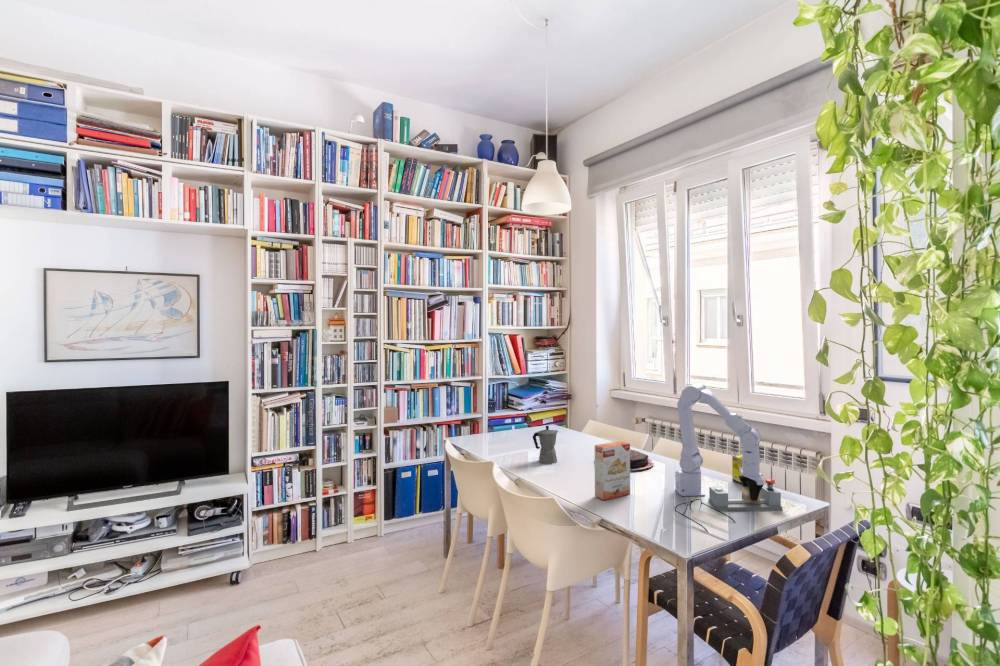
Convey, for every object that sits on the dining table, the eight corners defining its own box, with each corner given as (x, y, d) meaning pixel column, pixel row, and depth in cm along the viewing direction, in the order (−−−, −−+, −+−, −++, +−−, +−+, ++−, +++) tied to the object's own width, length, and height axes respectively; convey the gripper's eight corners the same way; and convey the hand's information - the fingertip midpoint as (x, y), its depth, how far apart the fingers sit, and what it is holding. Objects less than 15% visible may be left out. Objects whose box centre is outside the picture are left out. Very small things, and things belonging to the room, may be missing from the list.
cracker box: (604, 501, 188) (603, 448, 188) (594, 496, 194) (593, 444, 193) (631, 494, 195) (630, 443, 194) (621, 490, 200) (620, 439, 200)
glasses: (700, 510, 179) (701, 497, 178) (736, 529, 166) (738, 515, 165) (673, 518, 172) (674, 505, 171) (708, 539, 159) (710, 525, 158)
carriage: (746, 503, 179) (746, 490, 179) (741, 499, 183) (741, 486, 183) (760, 503, 179) (760, 490, 178) (755, 499, 183) (755, 486, 182)
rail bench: (718, 510, 177) (718, 493, 177) (708, 501, 186) (708, 484, 186) (782, 510, 176) (782, 492, 176) (769, 500, 185) (769, 484, 185)
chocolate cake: (616, 452, 257) (615, 440, 256) (664, 463, 236) (664, 450, 236) (583, 464, 238) (583, 451, 237) (633, 477, 217) (632, 462, 217)
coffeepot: (552, 457, 250) (552, 422, 249) (564, 461, 242) (563, 425, 241) (528, 462, 242) (527, 426, 242) (539, 466, 234) (538, 430, 234)
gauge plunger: (768, 492, 179) (767, 481, 179) (763, 489, 182) (763, 478, 182) (776, 491, 179) (776, 481, 179) (772, 488, 182) (772, 478, 182)
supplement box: (742, 485, 203) (742, 459, 202) (731, 480, 209) (731, 455, 208) (754, 483, 204) (753, 457, 204) (743, 479, 210) (743, 454, 210)
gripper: (772, 467, 173) (772, 505, 173) (752, 456, 187) (752, 490, 188) (752, 467, 173) (752, 505, 174) (733, 456, 188) (734, 491, 188)
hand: (751, 497), depth 181 cm, fingers closed on carriage, 4 cm apart
